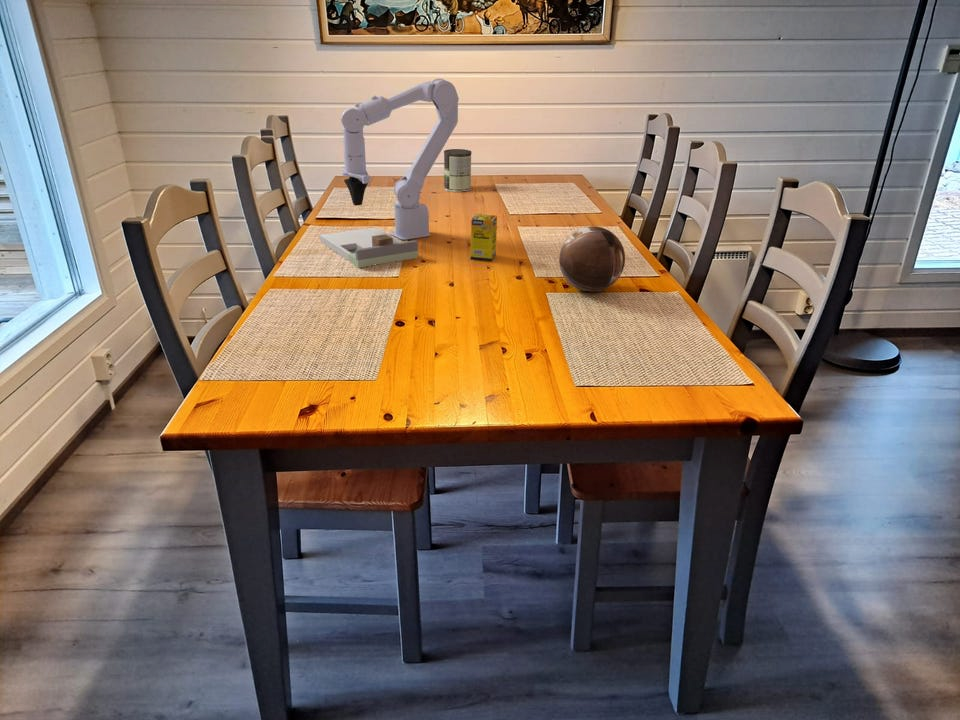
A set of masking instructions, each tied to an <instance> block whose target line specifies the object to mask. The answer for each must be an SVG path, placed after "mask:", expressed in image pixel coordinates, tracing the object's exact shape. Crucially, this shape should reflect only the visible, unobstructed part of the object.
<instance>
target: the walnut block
mask: <svg viewBox="0 0 960 720" xmlns="http://www.w3.org/2000/svg"><path fill="white" fill-rule="evenodd" d="M386 234H387V233H386ZM386 234H384V235H377V236H372V247H375V246H381V245H388V244H393V238H392V237H393V236H392V237H390V236H391V235H390V236H388V235H389V234H388V235H386Z"/></svg>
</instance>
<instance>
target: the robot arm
mask: <svg viewBox="0 0 960 720" xmlns="http://www.w3.org/2000/svg"><path fill="white" fill-rule="evenodd" d="M419 101H422V102H427V103H433V105H434V106H435V107H434V108H435V110H436V114H437V121H436V123H435V125H434V126H433V127H432V130H431V132H430V133H429V134H428V137H427V138H426V140H425V142H424V144H423V145H422V148H421V149H420V150H419V152H418V154H417V156H416V158H415V159H414V161H413V163H412V164H411V166H410V167H409V169H408V170H407V171H406V172H405V173H404V175H403V177H401V178H400V179H398V180H397V181H396V182H395V184H394V187H393V191H394V195H395V196H396V198H397V199H396V201H395V202H394V204H393V206H394V231H390V232H389V235H390V236H392V237H394V238H396V239H398V240H400V241H405V240H406V241H407V240H412V239H417V238H419V239H420V238H425V237H430V236H431V234H430V214H429V209H428V207H427V205H426V204H424V203H420V202H419V201H420V199H421V197H420V195H421V191H422V189H423V187H424V183H425V179H426V178H427V176H428V174H429V172H430V171H431V168H432V167H433V166H434V164H435V162H436V160H437V158H438V157H439V155H440V154H441V152H442V150H443V148H444V147H445V145H446V143H447V142H448V141H449V138H450V137H451V135H452V133H453V132H454V129H455V128H456V126H457V125H458V122H459V95H458V92H457V89H456V87H455V86H454V84H453V83H452V82H450V81H448V80H445V79H444V78H435V79H433V80H432V81H431V80H429V81H425V82H422V83H419V84H415V86H413V87H410V88H407V89H405V90H404V91H401V92H399V93H396V94H394V95H392V96H390V97H388V98H386V97H383V96H381V95H379V96H377V95H372V96H371V99H370V100H366V101H365V102H362V103H361V104H359V103H355V104H354V106H355V107H347V108H345V109H344V111H343V112H342V113H341V118H340V122H341V124H342V126H343V128H342V135H343V137H342V140H343V141H342V142H343V143H342V146H343V156H344V157H343V158H344V159H343V161H344V167H342V168H341V176H343V177H344V176H346V177H348V178H345V179H343V180H344V181H343V182H344V183H345V186H346V187H347V188H348V189H347V190H348V192H349V194H350V198H351V202H352V204H353V205H354V206H362V205H363V201H364V196H365V192H366V188H367V187H368V185H369V184H371V176H370V175H369V173H368V171H367V162H366V160H367V159H366V146H365V145H366V144H365V143H366V142H365V137H364V127H365V126H367V127H368V126H371V125H373V124H376V123H378V122H380V121H384V120H386V119H388V118H390V116H391V114H392V112H393V111H394V110H397V109H400V108H402V107H405V106H408V105H411V104H413V103H416V102H419Z"/></svg>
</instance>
